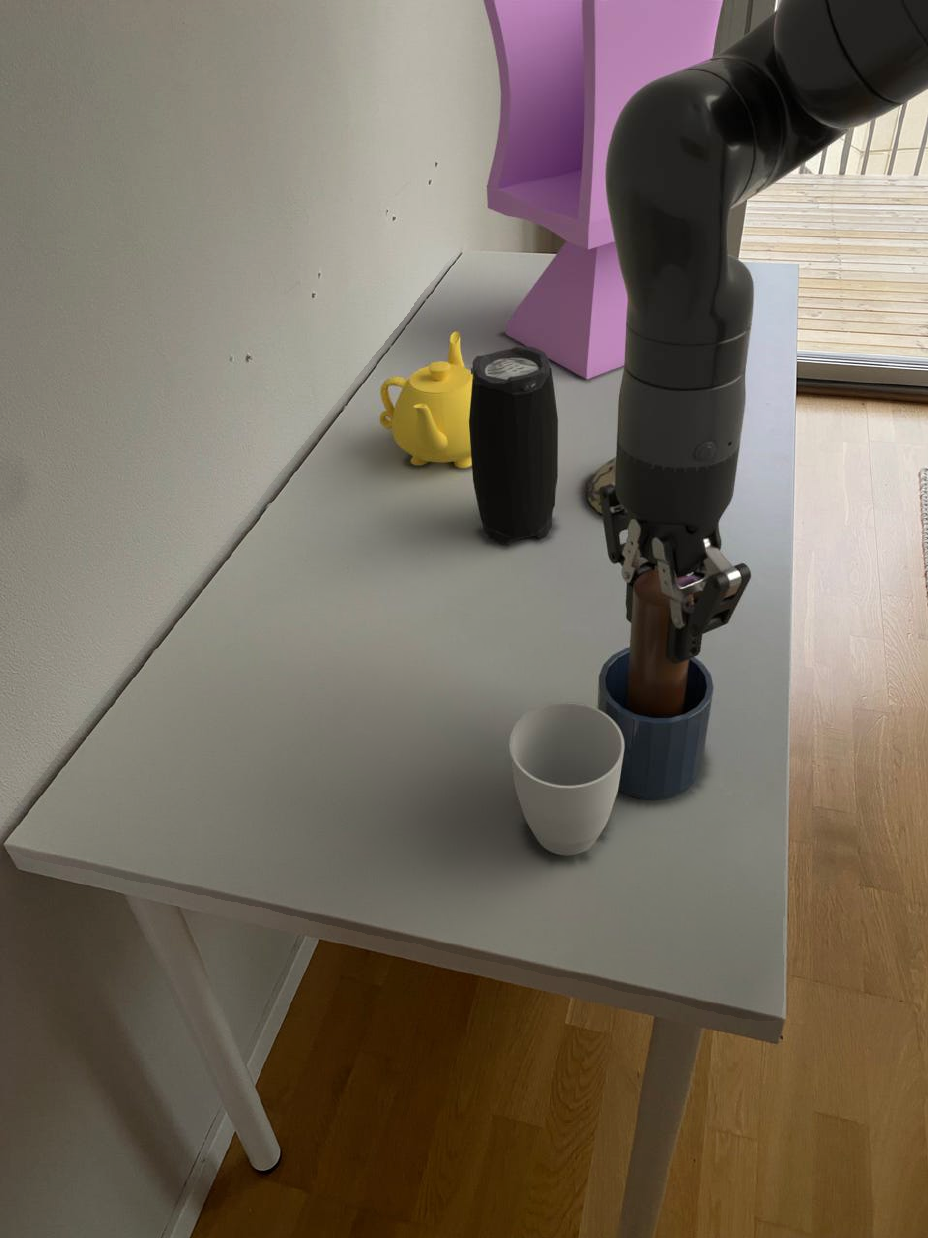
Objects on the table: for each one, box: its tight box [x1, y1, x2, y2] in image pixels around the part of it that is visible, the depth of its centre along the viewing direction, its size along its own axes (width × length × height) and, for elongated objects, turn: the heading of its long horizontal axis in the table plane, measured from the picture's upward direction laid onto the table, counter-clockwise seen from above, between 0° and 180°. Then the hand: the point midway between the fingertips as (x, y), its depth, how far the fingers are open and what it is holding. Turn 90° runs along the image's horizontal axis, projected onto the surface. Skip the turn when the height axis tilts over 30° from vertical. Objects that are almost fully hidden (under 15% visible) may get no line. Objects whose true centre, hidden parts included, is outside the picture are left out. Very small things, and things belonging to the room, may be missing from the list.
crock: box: [597, 646, 715, 801], centre depth 75 cm, size 9×9×9 cm
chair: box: [483, 0, 724, 380], centre depth 126 cm, size 22×22×45 cm
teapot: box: [379, 331, 473, 469], centre depth 114 cm, size 20×15×12 cm
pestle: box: [626, 569, 694, 718], centre depth 70 cm, size 4×4×14 cm
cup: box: [509, 701, 624, 856], centre depth 70 cm, size 8×8×10 cm
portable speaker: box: [469, 345, 559, 545], centre depth 98 cm, size 9×9×20 cm
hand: (660, 637), depth 69 cm, fingers closed on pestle, 4 cm apart
